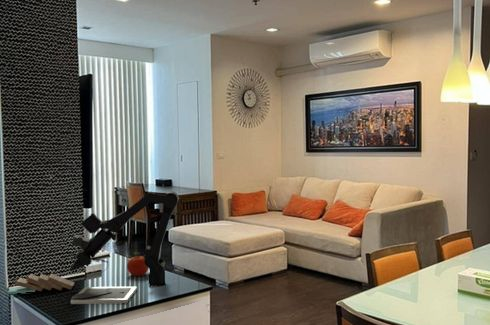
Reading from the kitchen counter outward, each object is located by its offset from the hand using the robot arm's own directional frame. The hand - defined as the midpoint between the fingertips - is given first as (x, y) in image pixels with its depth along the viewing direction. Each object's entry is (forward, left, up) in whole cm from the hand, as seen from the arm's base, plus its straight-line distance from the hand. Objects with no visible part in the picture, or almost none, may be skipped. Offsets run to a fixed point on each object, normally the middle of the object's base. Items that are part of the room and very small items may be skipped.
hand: (71, 269), depth 192 cm
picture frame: (-14, +14, -8) cm, 22 cm away
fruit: (-26, -13, -8) cm, 30 cm away
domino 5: (0, 0, -7) cm, 7 cm away
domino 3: (+7, 0, -7) cm, 10 cm away
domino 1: (+13, 0, -7) cm, 15 cm away
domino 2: (+11, 0, -7) cm, 13 cm away
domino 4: (+3, 0, -7) cm, 8 cm away
